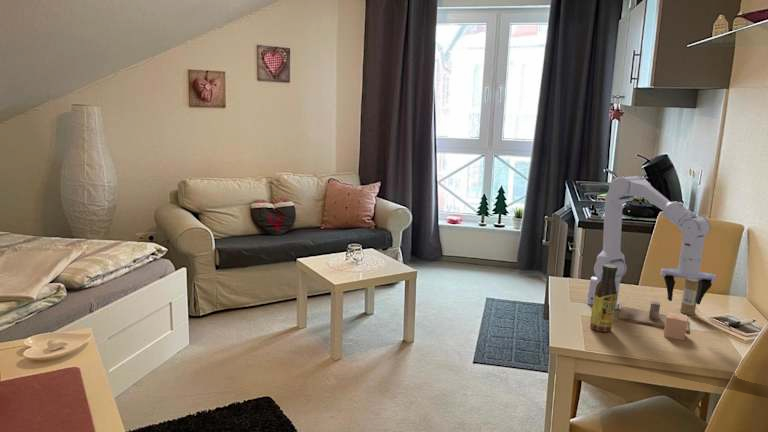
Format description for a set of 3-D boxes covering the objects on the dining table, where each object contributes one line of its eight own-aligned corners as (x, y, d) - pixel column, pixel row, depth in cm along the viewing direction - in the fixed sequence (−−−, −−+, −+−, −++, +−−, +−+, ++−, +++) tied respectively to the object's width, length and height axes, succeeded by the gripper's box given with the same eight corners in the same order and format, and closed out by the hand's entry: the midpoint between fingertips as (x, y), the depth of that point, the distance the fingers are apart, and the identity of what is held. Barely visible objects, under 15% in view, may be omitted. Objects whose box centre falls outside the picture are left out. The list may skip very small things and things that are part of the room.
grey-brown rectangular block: (618, 319, 187) (620, 301, 186) (620, 308, 197) (623, 291, 196) (688, 332, 179) (691, 314, 178) (687, 320, 189) (690, 303, 187)
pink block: (663, 336, 175) (666, 317, 174) (664, 330, 180) (667, 311, 179) (684, 340, 173) (687, 321, 172) (683, 334, 178) (686, 315, 176)
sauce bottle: (601, 334, 174) (609, 270, 170) (585, 326, 180) (593, 263, 176) (616, 331, 177) (625, 267, 173) (600, 323, 183) (608, 261, 179)
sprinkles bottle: (697, 313, 195) (704, 274, 193) (690, 316, 193) (696, 276, 190) (684, 309, 199) (690, 270, 196) (676, 311, 197) (683, 272, 194)
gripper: (666, 258, 171) (659, 302, 174) (721, 264, 168) (713, 309, 171) (662, 252, 178) (655, 295, 181) (715, 257, 175) (707, 301, 178)
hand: (683, 301), depth 176 cm, fingers open, 7 cm apart
